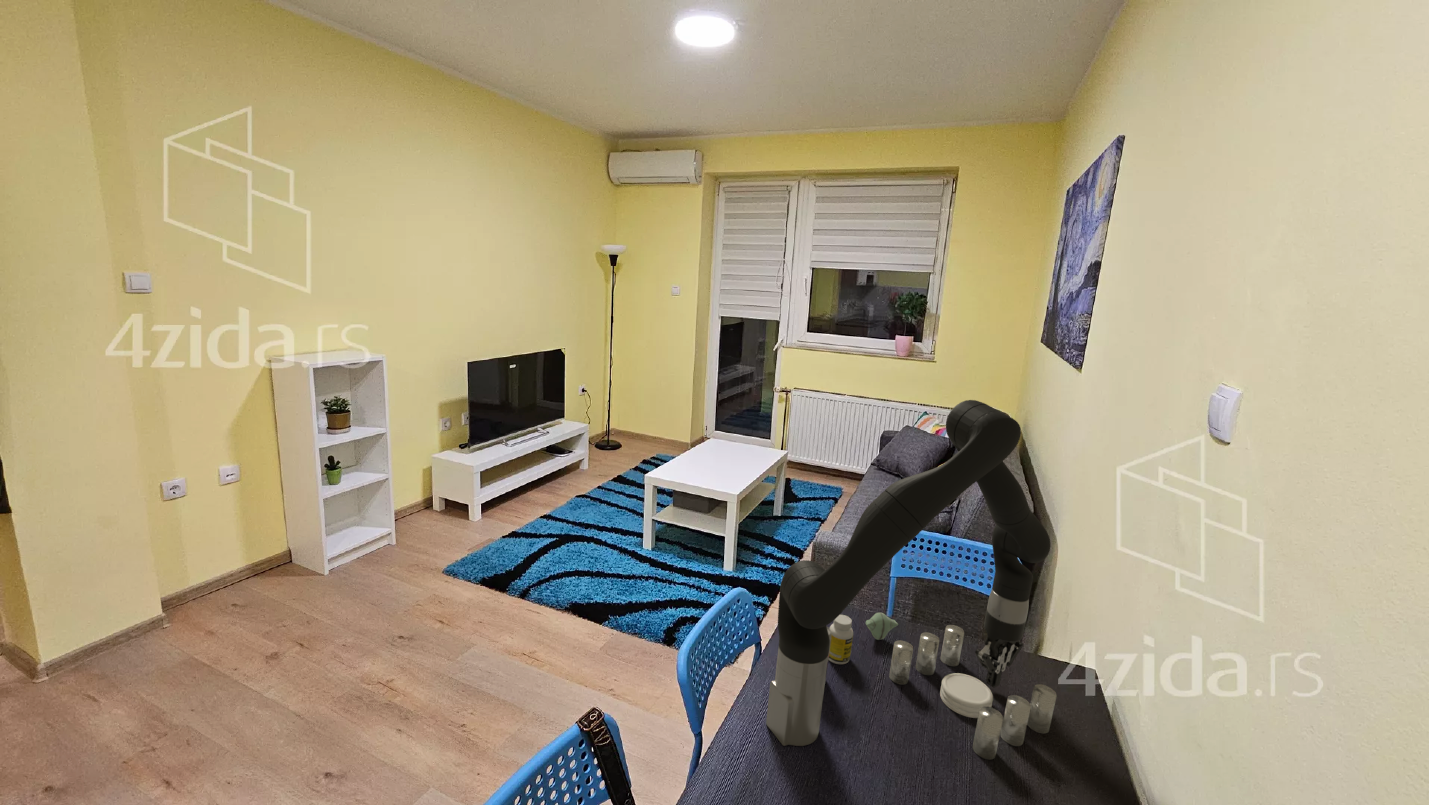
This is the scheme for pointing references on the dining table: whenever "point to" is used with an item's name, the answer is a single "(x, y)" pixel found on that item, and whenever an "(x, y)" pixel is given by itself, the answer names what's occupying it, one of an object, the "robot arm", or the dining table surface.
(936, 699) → the dining table surface
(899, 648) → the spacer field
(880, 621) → the pale green rounded piece
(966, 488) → the robot arm
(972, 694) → the white round lidded container
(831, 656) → the supplement bottle
